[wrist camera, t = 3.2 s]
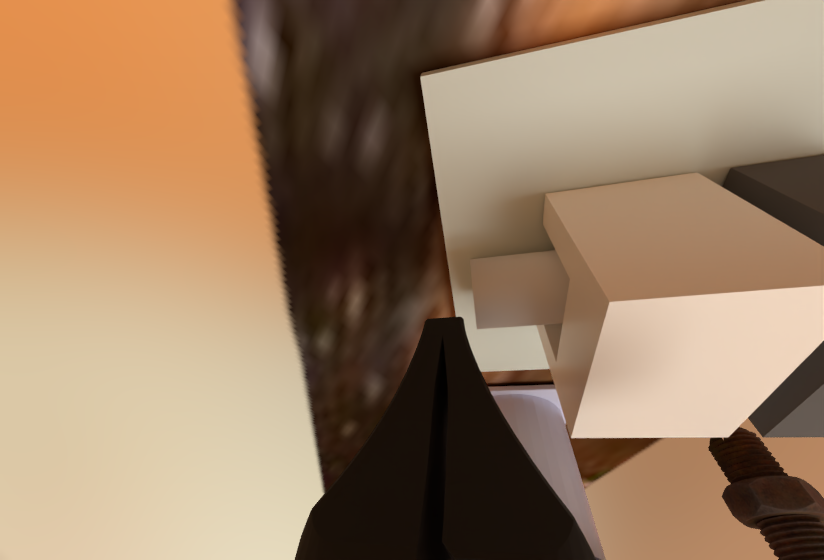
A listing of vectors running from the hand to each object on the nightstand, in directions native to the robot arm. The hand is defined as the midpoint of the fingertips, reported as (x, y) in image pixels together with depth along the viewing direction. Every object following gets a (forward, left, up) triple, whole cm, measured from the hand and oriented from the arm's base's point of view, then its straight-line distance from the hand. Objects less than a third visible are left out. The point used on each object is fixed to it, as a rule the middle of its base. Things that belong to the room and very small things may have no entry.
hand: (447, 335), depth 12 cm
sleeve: (0, -7, -4) cm, 8 cm away
